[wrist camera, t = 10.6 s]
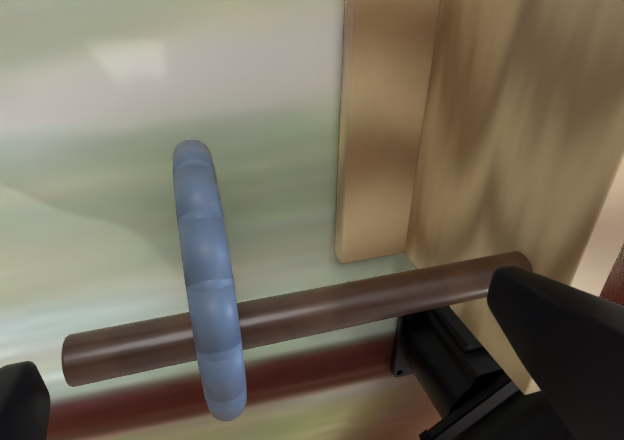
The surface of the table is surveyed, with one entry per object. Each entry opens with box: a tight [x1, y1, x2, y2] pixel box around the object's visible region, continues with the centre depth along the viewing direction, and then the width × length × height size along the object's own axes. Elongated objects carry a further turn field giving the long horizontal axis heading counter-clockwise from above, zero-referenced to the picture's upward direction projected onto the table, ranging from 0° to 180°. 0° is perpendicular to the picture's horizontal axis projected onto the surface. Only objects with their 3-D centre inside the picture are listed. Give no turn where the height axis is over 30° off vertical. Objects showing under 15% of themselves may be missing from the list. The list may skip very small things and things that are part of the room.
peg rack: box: [62, 0, 624, 395], centre depth 13 cm, size 22×17×11 cm
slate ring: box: [173, 140, 247, 421], centre depth 15 cm, size 9×1×9 cm, turn 179°
